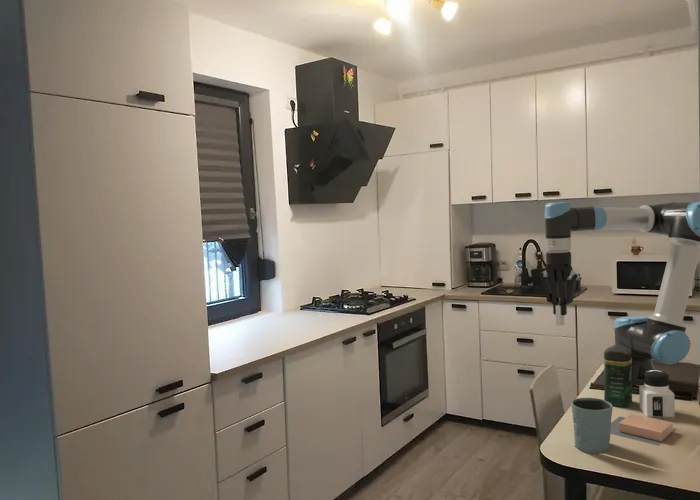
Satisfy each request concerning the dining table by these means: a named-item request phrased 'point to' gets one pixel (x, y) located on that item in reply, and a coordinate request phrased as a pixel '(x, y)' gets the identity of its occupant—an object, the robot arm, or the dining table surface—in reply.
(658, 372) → the container
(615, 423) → the mat
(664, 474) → the dining table surface
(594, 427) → the teal planter pot
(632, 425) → the salmon orange rectangular block
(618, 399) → the coffee jar
